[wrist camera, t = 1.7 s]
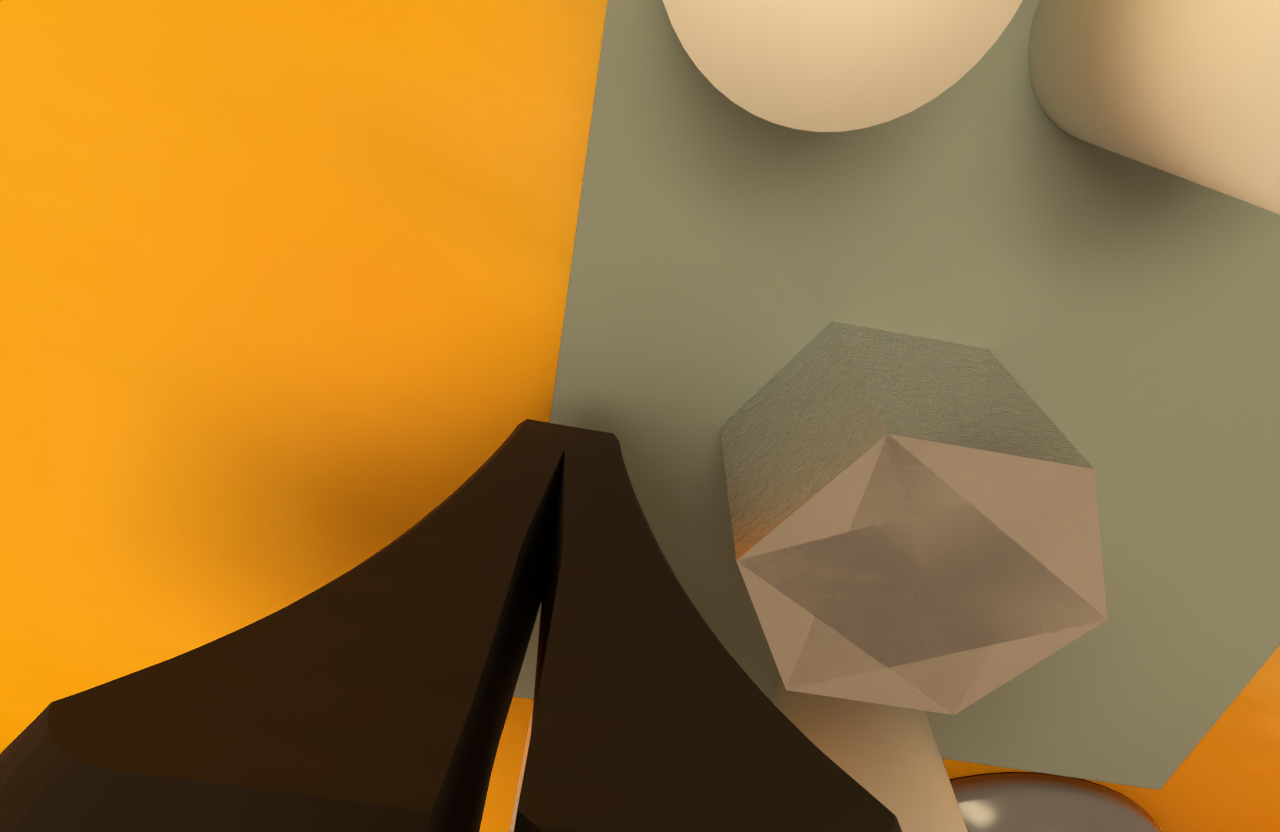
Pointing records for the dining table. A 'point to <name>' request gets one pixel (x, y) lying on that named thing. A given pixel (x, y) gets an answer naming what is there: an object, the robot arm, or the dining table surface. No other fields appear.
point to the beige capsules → (1075, 101)
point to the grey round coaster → (1045, 805)
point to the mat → (960, 313)
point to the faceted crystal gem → (909, 521)
